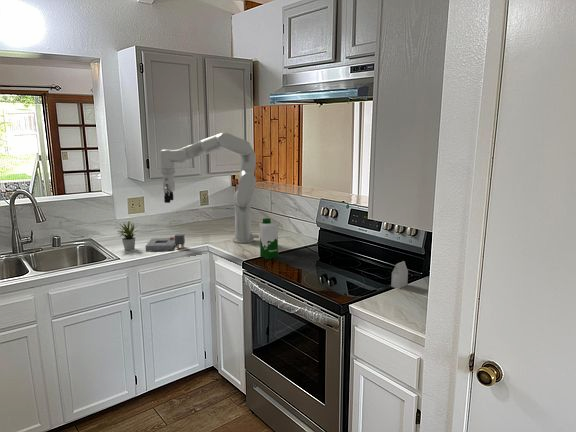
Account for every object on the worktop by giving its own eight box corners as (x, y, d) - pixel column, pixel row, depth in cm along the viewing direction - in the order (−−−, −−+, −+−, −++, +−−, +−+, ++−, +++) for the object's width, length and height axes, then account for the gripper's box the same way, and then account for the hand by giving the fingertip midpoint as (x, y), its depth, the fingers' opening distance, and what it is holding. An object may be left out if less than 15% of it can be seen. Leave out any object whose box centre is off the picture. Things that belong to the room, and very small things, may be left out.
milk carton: (271, 253, 231) (271, 217, 227) (281, 257, 223) (280, 219, 220) (257, 256, 226) (257, 219, 222) (267, 260, 218) (266, 221, 215)
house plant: (115, 246, 247) (113, 219, 244) (140, 244, 252) (139, 217, 249) (115, 253, 234) (112, 223, 231) (141, 250, 239) (139, 221, 236)
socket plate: (176, 242, 257) (175, 236, 256) (171, 250, 239) (171, 243, 238) (152, 243, 255) (151, 237, 254) (145, 251, 238) (145, 244, 237)
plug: (185, 246, 247) (184, 234, 245) (184, 248, 243) (183, 235, 241) (176, 247, 246) (175, 234, 245) (175, 248, 242) (174, 235, 241)
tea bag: (407, 284, 182) (408, 262, 180) (399, 288, 177) (400, 265, 175) (399, 282, 184) (400, 260, 182) (391, 286, 179) (392, 263, 178)
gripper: (171, 172, 235) (173, 203, 238) (177, 170, 252) (178, 199, 255) (157, 172, 234) (159, 203, 237) (164, 170, 251) (165, 199, 254)
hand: (169, 201), depth 246 cm, fingers open, 9 cm apart
